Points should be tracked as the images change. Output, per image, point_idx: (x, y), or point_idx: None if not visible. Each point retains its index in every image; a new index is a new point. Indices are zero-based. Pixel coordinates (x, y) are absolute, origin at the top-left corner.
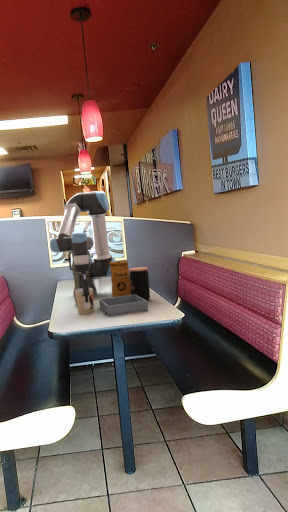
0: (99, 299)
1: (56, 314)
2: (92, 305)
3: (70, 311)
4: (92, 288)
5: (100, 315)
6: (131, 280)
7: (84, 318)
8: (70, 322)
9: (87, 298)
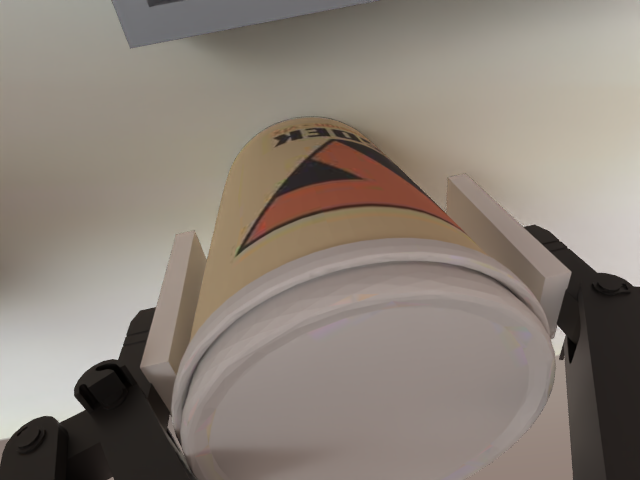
0: (163, 39)
1: None
2: (376, 150)
3: None
4: (421, 290)
5: (548, 31)
6: None
7: (544, 192)
8: None
9: (575, 264)
